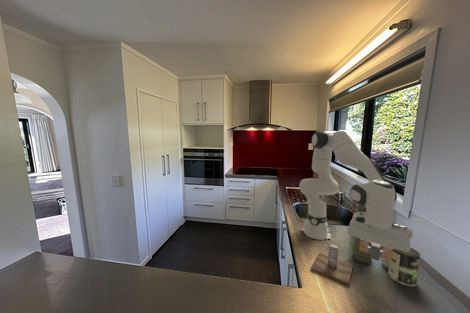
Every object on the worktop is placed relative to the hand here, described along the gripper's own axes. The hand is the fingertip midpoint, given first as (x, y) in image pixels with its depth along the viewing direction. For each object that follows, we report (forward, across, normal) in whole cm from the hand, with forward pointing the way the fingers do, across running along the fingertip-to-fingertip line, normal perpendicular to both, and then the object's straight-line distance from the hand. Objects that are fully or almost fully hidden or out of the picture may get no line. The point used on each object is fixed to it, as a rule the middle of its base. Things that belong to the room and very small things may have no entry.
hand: (374, 252), depth 77 cm
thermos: (+18, +5, -26) cm, 32 cm away
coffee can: (+18, -11, -20) cm, 29 cm away
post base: (+18, +16, -5) cm, 24 cm away
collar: (+2, 0, -5) cm, 6 cm away
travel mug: (+18, -7, -27) cm, 33 cm away
